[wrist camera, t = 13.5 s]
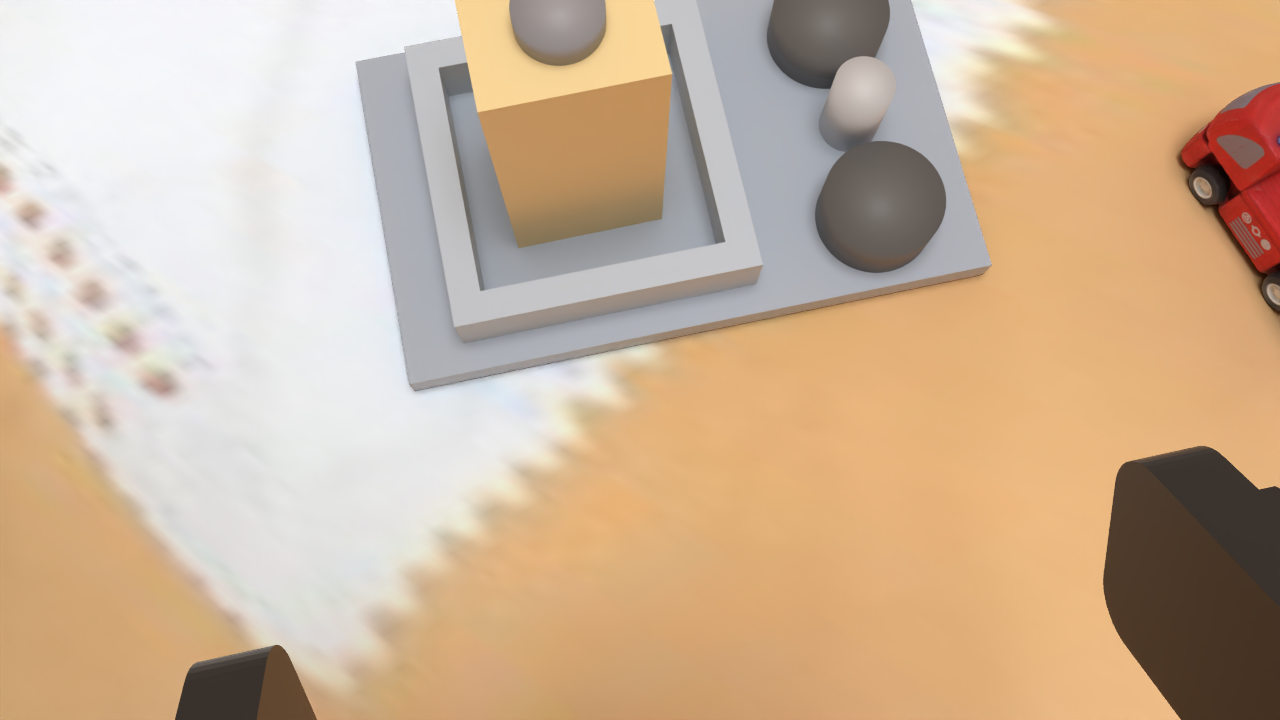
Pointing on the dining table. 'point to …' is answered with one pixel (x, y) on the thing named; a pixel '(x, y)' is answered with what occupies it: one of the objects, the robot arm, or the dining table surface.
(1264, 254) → the toy fire truck
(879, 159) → the grey insertion tray
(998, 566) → the dining table surface
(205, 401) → the dining table surface
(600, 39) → the tan knobbed block
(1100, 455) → the dining table surface
